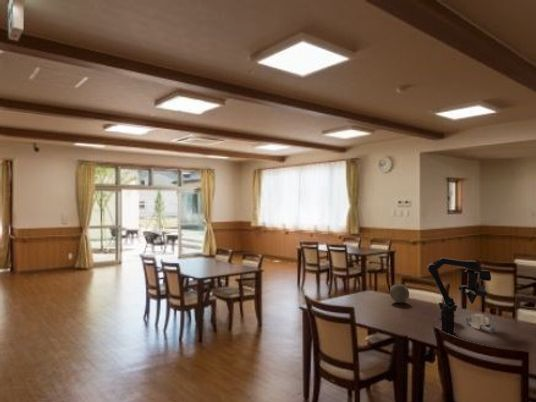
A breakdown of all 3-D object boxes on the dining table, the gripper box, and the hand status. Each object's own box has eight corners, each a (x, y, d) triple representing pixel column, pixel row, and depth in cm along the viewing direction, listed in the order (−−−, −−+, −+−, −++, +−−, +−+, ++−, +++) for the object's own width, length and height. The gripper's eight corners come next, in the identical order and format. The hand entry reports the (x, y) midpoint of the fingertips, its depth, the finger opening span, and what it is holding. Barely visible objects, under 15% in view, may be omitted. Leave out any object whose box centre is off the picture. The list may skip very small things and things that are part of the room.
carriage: (477, 329, 252) (477, 316, 252) (471, 326, 257) (471, 314, 257) (485, 328, 254) (485, 315, 254) (479, 325, 259) (479, 313, 259)
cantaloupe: (393, 300, 326) (393, 281, 326) (411, 302, 318) (411, 283, 318) (387, 303, 314) (387, 284, 314) (405, 306, 306) (405, 286, 306)
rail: (491, 333, 244) (491, 326, 244) (466, 323, 263) (466, 317, 263) (495, 333, 245) (495, 326, 245) (470, 323, 264) (470, 317, 264)
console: (482, 325, 261) (482, 318, 261) (476, 322, 266) (476, 316, 266) (488, 324, 262) (488, 318, 262) (482, 322, 267) (482, 316, 267)
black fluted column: (437, 336, 239) (437, 302, 239) (450, 336, 239) (450, 302, 239) (444, 341, 231) (444, 306, 231) (458, 340, 231) (458, 305, 231)
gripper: (494, 282, 260) (493, 306, 260) (471, 276, 277) (471, 299, 278) (480, 282, 256) (479, 307, 256) (458, 277, 274) (457, 300, 274)
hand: (472, 303), depth 266 cm, fingers closed
